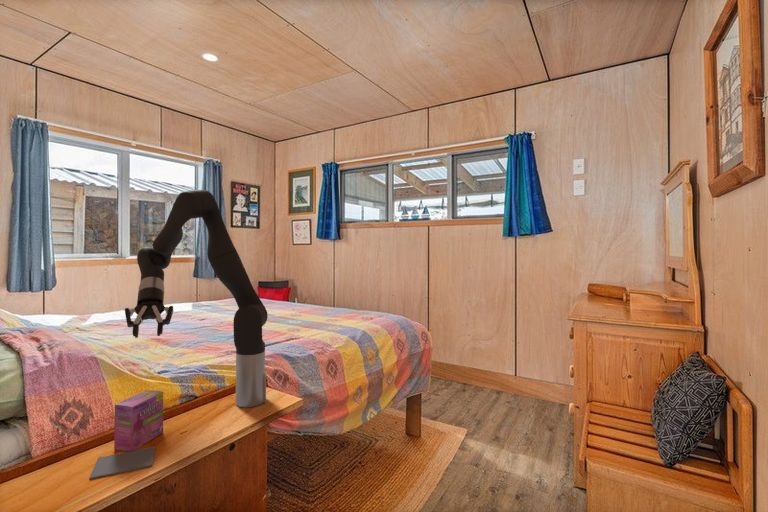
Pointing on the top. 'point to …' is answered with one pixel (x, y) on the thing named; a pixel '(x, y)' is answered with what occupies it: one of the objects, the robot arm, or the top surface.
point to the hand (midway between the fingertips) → (147, 335)
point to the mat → (123, 462)
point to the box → (138, 420)
